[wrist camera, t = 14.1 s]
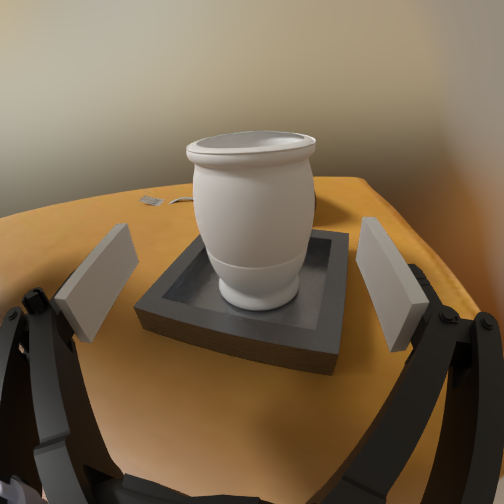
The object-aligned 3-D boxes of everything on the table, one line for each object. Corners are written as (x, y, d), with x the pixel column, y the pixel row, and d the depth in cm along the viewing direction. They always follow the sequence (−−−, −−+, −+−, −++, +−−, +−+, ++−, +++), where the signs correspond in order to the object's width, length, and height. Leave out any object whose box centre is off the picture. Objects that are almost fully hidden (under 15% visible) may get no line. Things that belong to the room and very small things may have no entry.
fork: (253, 205, 49) (252, 196, 48) (139, 208, 53) (137, 200, 52) (255, 198, 52) (255, 190, 51) (146, 202, 56) (144, 194, 55)
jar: (328, 280, 28) (339, 136, 20) (262, 339, 22) (251, 157, 14) (256, 247, 35) (248, 127, 27) (190, 286, 29) (162, 147, 21)
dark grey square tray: (143, 328, 25) (133, 306, 23) (216, 238, 39) (214, 219, 37) (331, 375, 19) (338, 354, 18) (346, 254, 33) (348, 233, 32)
